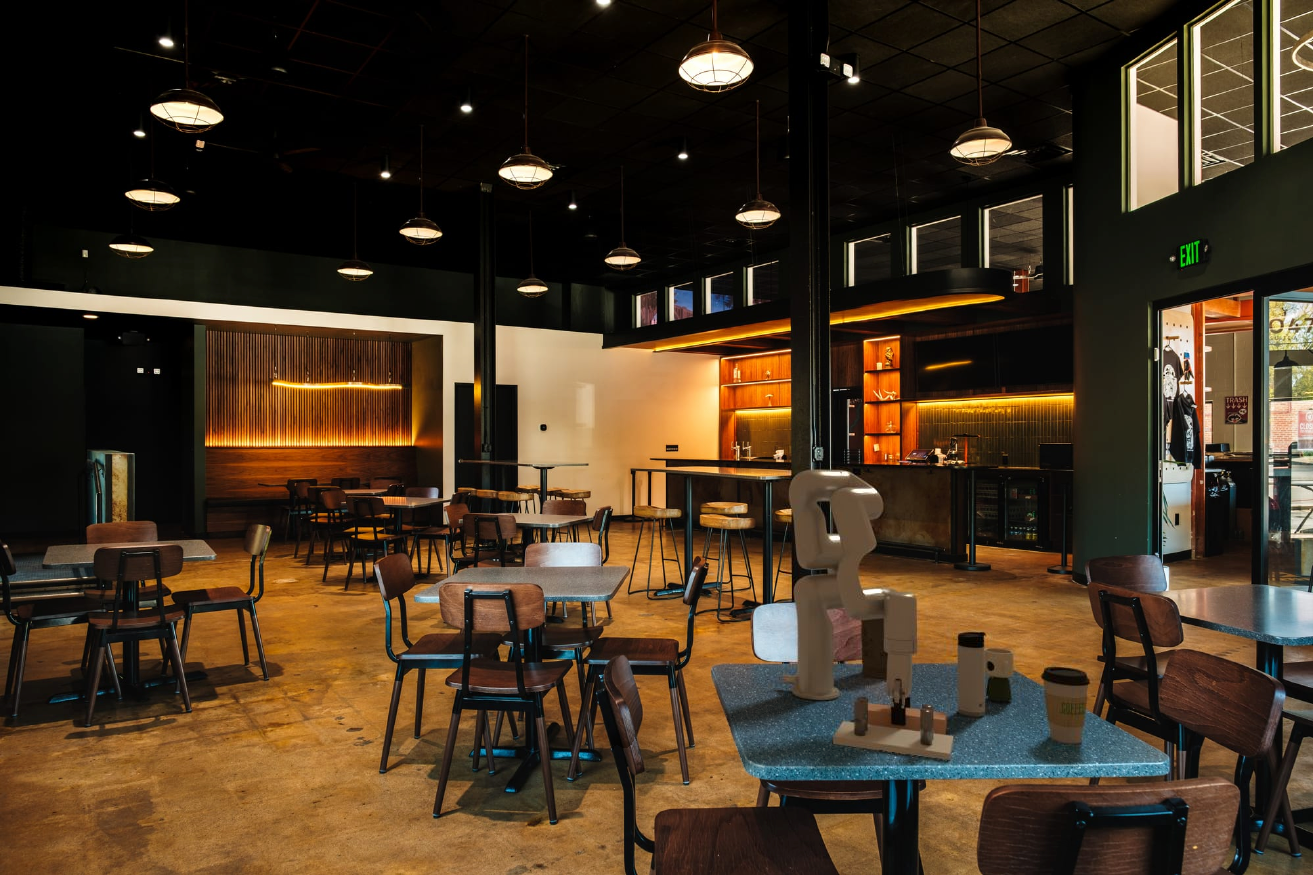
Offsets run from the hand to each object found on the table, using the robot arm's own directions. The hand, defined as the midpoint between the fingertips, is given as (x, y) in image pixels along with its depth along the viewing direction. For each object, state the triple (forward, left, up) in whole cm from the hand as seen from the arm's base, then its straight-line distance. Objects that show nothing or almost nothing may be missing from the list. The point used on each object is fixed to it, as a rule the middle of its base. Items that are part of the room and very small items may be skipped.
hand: (901, 718), depth 185 cm
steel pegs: (0, -13, 0) cm, 13 cm away
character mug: (+21, +33, -2) cm, 39 cm away
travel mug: (+15, +18, -2) cm, 24 cm away
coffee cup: (+35, +7, -2) cm, 36 cm away
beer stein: (-10, +48, -2) cm, 49 cm away
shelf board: (0, 0, -2) cm, 2 cm away
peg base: (0, -13, -2) cm, 13 cm away
